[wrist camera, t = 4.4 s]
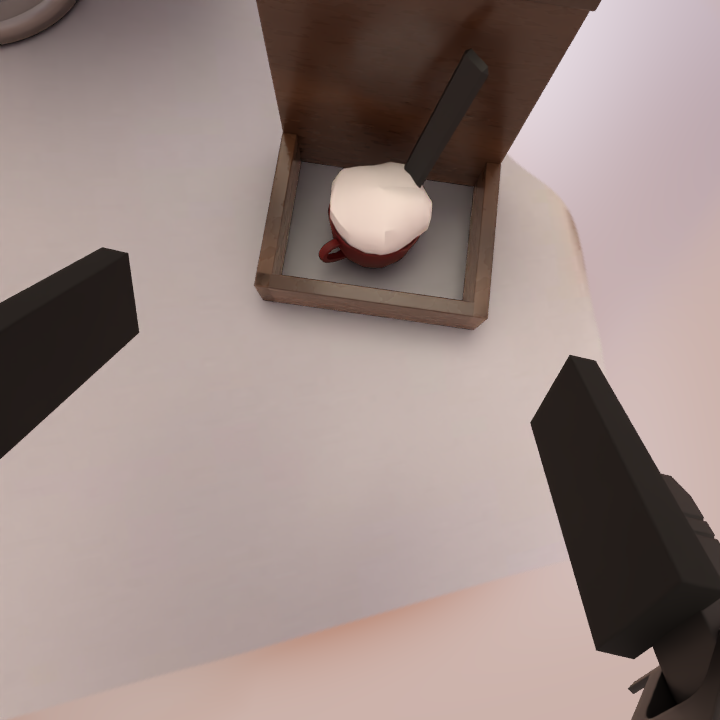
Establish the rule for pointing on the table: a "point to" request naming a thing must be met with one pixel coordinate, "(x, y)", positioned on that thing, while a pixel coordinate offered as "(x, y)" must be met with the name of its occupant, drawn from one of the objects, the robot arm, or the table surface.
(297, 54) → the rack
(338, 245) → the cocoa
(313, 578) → the table surface
